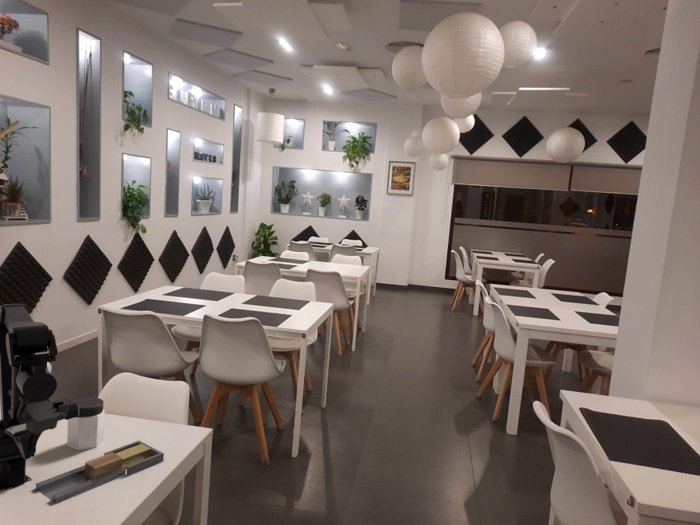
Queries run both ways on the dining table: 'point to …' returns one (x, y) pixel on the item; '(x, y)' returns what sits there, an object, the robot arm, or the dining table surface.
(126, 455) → the olive wooden block
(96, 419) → the jar
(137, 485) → the dining table surface
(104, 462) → the tan wooden brick
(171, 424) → the dining table surface
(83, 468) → the rail bed
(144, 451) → the tan wooden block
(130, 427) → the dining table surface
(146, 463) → the tray
